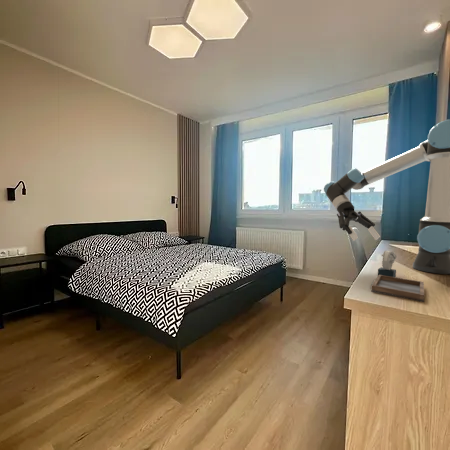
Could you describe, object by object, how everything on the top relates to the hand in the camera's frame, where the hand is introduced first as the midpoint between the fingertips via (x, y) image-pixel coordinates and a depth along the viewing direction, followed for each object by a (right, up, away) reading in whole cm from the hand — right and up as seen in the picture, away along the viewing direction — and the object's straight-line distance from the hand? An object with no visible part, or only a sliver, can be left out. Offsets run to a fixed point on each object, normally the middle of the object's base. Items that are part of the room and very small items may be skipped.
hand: (367, 238), depth 112 cm
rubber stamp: (+3, -16, -9) cm, 18 cm away
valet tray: (-4, -16, -26) cm, 31 cm away
